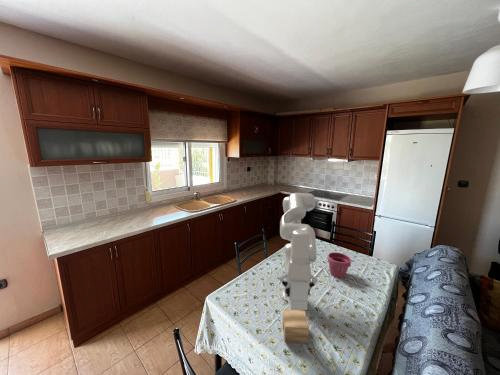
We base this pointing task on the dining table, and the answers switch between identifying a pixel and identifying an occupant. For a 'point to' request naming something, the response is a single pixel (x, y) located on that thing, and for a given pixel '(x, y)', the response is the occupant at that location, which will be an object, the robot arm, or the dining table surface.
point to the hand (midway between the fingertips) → (297, 295)
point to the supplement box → (298, 295)
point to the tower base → (295, 338)
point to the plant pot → (338, 264)
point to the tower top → (295, 323)
